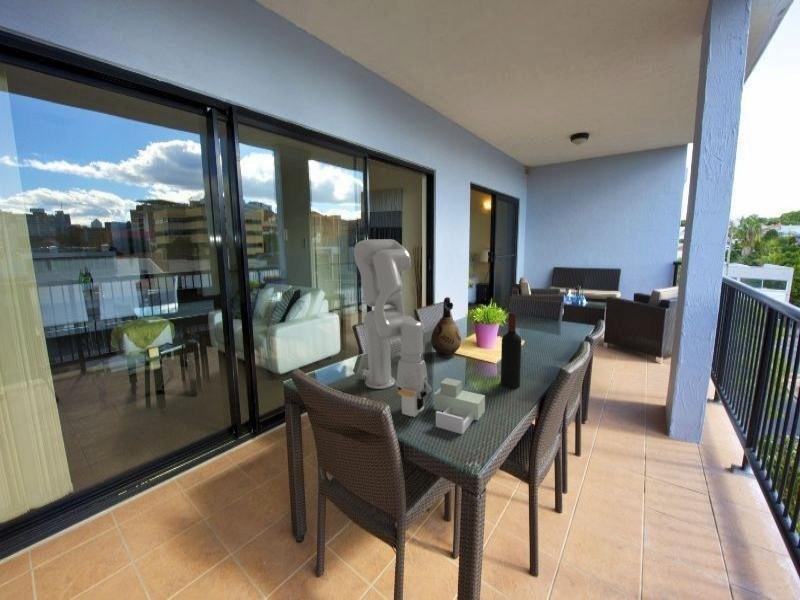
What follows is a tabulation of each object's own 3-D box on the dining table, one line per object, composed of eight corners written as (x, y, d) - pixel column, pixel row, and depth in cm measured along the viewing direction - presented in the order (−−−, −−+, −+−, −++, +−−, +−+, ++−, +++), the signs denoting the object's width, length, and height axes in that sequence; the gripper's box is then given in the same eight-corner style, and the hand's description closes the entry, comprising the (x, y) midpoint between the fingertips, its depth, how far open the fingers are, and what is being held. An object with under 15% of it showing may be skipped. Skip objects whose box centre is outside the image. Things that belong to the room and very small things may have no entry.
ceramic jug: (463, 359, 170) (463, 300, 165) (432, 359, 170) (431, 301, 165) (458, 348, 187) (458, 294, 182) (430, 349, 187) (429, 295, 182)
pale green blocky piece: (420, 422, 112) (420, 393, 110) (442, 401, 126) (442, 375, 125) (466, 435, 104) (467, 405, 102) (484, 411, 118) (485, 384, 116)
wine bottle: (497, 385, 139) (498, 313, 134) (506, 379, 144) (508, 310, 139) (514, 390, 134) (516, 315, 129) (523, 384, 139) (525, 312, 134)
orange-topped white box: (398, 416, 117) (398, 391, 115) (412, 405, 124) (411, 381, 123) (411, 419, 114) (411, 394, 112) (424, 408, 121) (423, 384, 120)
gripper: (385, 356, 118) (387, 405, 121) (429, 364, 109) (429, 416, 112) (396, 350, 124) (398, 396, 127) (439, 357, 115) (439, 407, 118)
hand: (413, 405), depth 119 cm, fingers closed on orange-topped white box, 5 cm apart
